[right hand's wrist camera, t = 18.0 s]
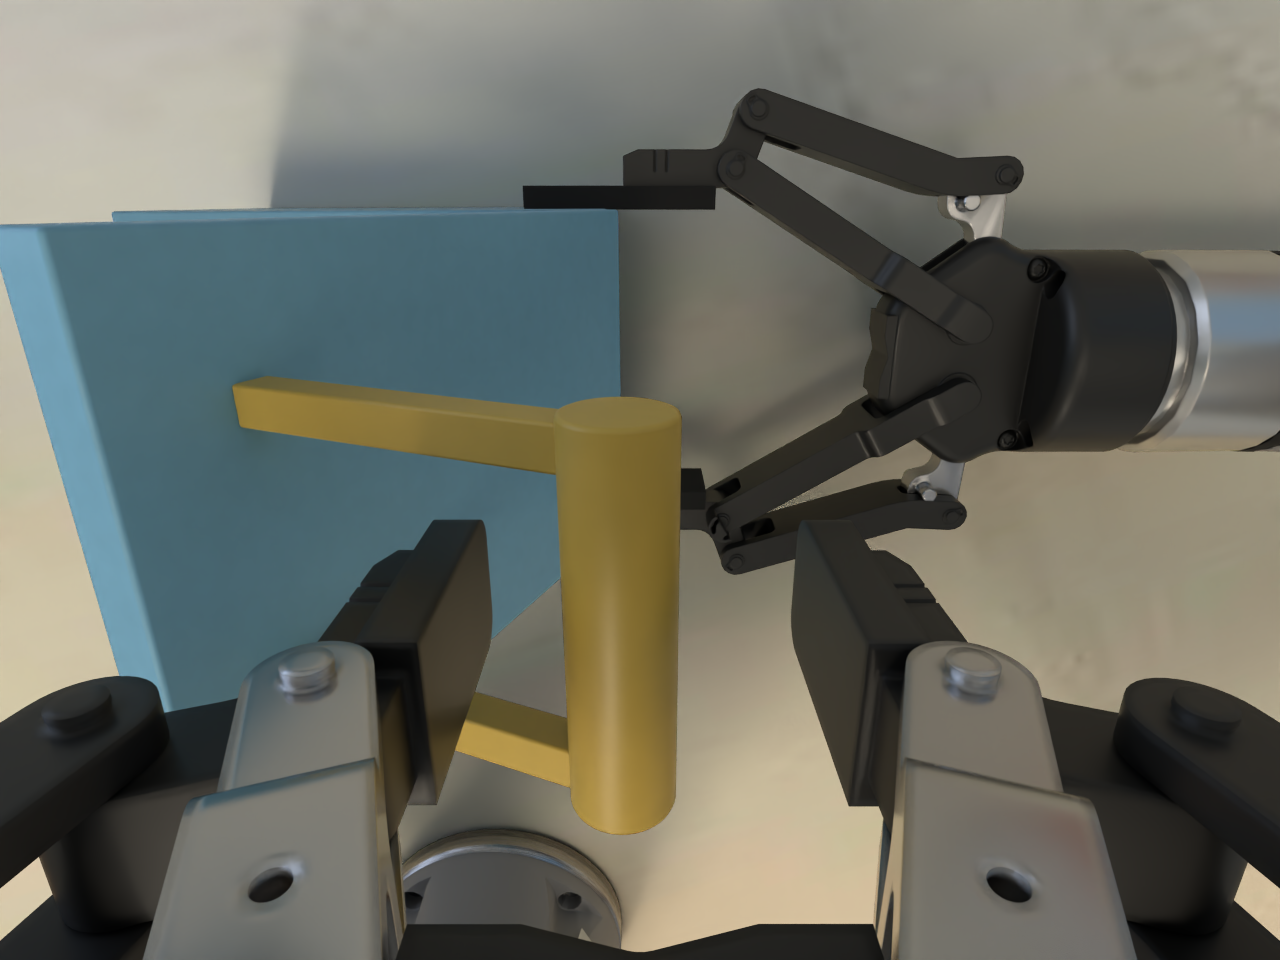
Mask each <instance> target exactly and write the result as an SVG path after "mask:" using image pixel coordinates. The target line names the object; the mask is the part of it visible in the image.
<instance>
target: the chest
mask: <svg viewBox="0 0 1280 960" xmlns="http://www.w3.org/2000/svg"><path fill="white" fill-rule="evenodd" d="M550 210H589V209H524V207H443V208H258V209H209V210H159V211H114V212H112V218H113V222H124V221H163V220H202V219H240V218H279V217H318V216H357V215H395V214H434V213H473V212H512V211H550Z"/></svg>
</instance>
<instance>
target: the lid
mask: <svg viewBox="0 0 1280 960" xmlns="http://www.w3.org/2000/svg"><path fill="white" fill-rule="evenodd" d="M0 269H1V272H2V275H3V279H4V282H5V286H6V289H7V293H8V296H9V299H10V303H11V306H12V310H13V313H14V316H15V320H16V323H17V327H18V330H19V334H20V337H21V340H22V344H23V347H24V351H25V354H26V358H27V361H28V364H29V368H30V371H31V375H32V378H33V381H34V385H35V388H36V392H37V395H38V399H39V402H40V405H41V409H42V412H43V416H44V419H45V423H46V426H47V429H48V433H49V436H50V440H51V443H52V446H53V450H54V453H55V457H56V460H57V464H58V467H59V470H60V474H61V477H62V481H63V484H64V488H65V491H66V494H67V498H68V501H69V505H70V508H71V511H72V515H73V518H74V522H75V525H76V529H77V532H78V535H79V539H80V542H81V546H82V549H83V553H84V556H85V559H86V563H87V566H88V570H89V573H90V576H91V580H92V583H93V587H94V590H95V594H96V597H97V600H98V604H99V607H100V611H101V614H102V618H103V621H104V624H105V628H106V631H107V635H108V638H109V641H110V645H111V648H112V652H113V655H114V659H115V662H116V665H117V669H118V672H119V676H134V677H140V678H144V679H147V680H149V681H151V682H153V683H154V684H155V685H156V686H157V688H158V691H159V694H160V698H161V702H162V705H163V709H164V713H165V712H171V711H176V710H181V709H186V708H191V707H197V706H202V705H207V704H212V703H218V702H223V701H227V700H231V699H236V698H238V695H239V691H240V687H241V684H242V682H243V680H244V679H245V677H246V676H247V674H248V673H249V672H250V671H251V670H252V669H253V668H254V667H256V666H257V665H258V664H260V663H261V662H262V661H264V660H266V659H267V658H269V657H271V656H273V655H275V654H277V653H279V652H282V651H284V650H287V649H289V648H292V647H296V646H299V645H303V644H308V643H313V642H318V640H319V639H320V638H321V636H322V635H323V633H324V632H325V631H326V629H327V628H328V627H329V625H330V624H331V623H332V621H333V620H334V618H335V617H336V616H337V614H338V613H339V612H340V610H341V609H342V608H343V606H344V605H345V604H346V602H349V598H350V597H351V595H352V594H353V593H354V591H355V590H356V589H357V587H360V583H361V582H362V580H363V579H364V578H365V576H366V575H367V574H368V572H369V571H370V569H371V568H372V567H373V565H375V564H376V563H378V562H380V561H381V560H383V559H385V558H386V557H388V556H389V555H391V554H393V553H394V552H396V551H397V550H414V548H415V547H416V545H417V544H418V542H419V541H420V539H421V538H422V536H423V535H424V533H425V531H426V530H427V528H428V527H429V525H430V524H431V522H432V521H433V520H482V521H483V522H484V525H485V529H486V535H487V547H488V560H489V573H490V586H491V598H492V615H493V620H492V635H491V640H492V639H493V638H494V637H495V636H496V635H497V634H498V633H499V632H501V631H502V630H503V629H504V628H505V627H506V626H507V625H508V624H510V623H511V622H512V621H513V620H514V619H515V618H516V617H517V616H519V615H520V614H521V613H522V612H523V611H524V610H525V609H526V608H528V607H529V606H530V605H531V604H532V603H533V602H534V601H535V600H536V599H538V598H539V597H540V596H541V595H542V594H543V593H544V592H545V591H547V590H548V589H549V588H550V587H551V586H552V585H553V584H554V583H556V582H557V581H558V580H559V579H560V578H561V595H562V617H563V638H564V660H565V681H566V703H567V718H564V717H561V716H557V715H554V714H550V713H547V712H543V711H540V710H537V709H533V708H530V707H526V706H523V705H519V704H516V703H512V702H509V701H505V700H502V699H498V698H495V697H491V696H488V695H484V694H481V693H478V692H474V695H473V698H472V701H471V704H470V707H469V710H468V713H467V716H466V719H465V722H464V725H463V728H462V731H461V734H460V737H459V740H458V743H457V746H456V749H455V750H456V751H459V752H462V753H465V754H468V755H471V756H474V757H477V758H480V759H483V760H486V761H490V762H493V763H496V764H499V765H502V766H505V767H508V768H511V769H514V770H517V771H520V772H523V773H526V774H529V775H532V776H535V777H538V778H541V779H545V780H548V781H551V782H554V783H557V784H560V785H563V786H566V787H569V788H570V790H571V802H572V805H573V807H574V809H575V811H576V813H577V814H578V816H579V817H580V818H581V819H582V820H583V821H584V822H585V823H586V824H588V825H589V826H591V827H592V828H594V829H596V830H599V831H601V832H605V833H609V834H617V835H628V834H635V833H639V832H643V831H645V830H648V829H650V828H652V827H654V826H656V825H657V824H659V823H660V822H661V821H662V820H663V819H664V818H665V817H666V816H667V815H668V813H669V812H670V810H671V809H672V807H673V804H674V802H675V797H676V747H677V684H678V621H679V558H680V495H681V432H682V416H681V414H680V411H679V410H678V409H677V408H676V407H675V406H673V405H670V404H668V403H665V402H661V401H658V400H653V399H647V398H638V397H621V389H620V315H619V242H618V211H617V210H615V209H589V210H550V211H512V212H473V213H434V214H395V215H357V216H318V217H279V218H240V219H202V220H163V221H124V222H85V223H47V224H8V225H0Z"/></svg>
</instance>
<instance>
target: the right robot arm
mask: <svg viewBox="0 0 1280 960" xmlns="http://www.w3.org/2000/svg"><path fill="white" fill-rule="evenodd" d="M492 620H493V615H492V598H491V586H490V573H489V560H488V547H487V535H486V529H485V525H484V522H483V521H482V520H433V521H432V522H431V524H430V525H429V527H428V528H427V530H426V531H425V533H424V535H423V536H422V538H421V539H420V541H419V542H418V544H417V545H416V547H415V548H414V550H397V551H396V552H394V553H393V554H391V555H389V556H388V557H386V558H385V559H383V560H381V561H380V562H378V563H376V564H375V565H373V567H372V568H371V569H370V571H369V572H368V574H367V575H366V576H365V578H364V579H363V580H362V582H361V583H360V587H357V589H356V590H355V591H354V593H353V594H352V595H351V597H350V598H349V602H346V604H345V605H344V606H343V608H342V609H341V610H340V612H339V613H338V614H337V616H336V617H335V618H334V620H333V621H332V623H331V624H330V625H329V627H328V628H327V629H326V631H325V632H324V633H323V635H322V636H321V638H320V639H319V640H318V642H313V643H308V644H303V645H299V646H296V647H292V648H289V649H287V650H284V651H282V652H279V653H277V654H275V655H273V656H271V657H269V658H267V659H266V660H264V661H262V662H261V663H260V664H258V665H257V666H256V667H254V668H253V669H252V670H251V671H250V672H249V673H248V674H247V676H246V677H245V679H244V680H243V682H242V684H241V687H240V691H239V695H238V698H236V699H231V700H227V701H223V702H218V703H212V704H207V705H202V706H197V707H191V708H186V709H181V710H176V711H171V712H165V713H164V709H163V705H162V702H161V698H160V694H159V691H158V688H157V686H156V685H155V684H154V683H153V682H151V681H149V680H147V679H144V678H140V677H134V676H113V677H104V678H99V679H93V680H89V681H85V682H81V683H78V684H75V685H72V686H69V687H66V688H63V689H60V690H58V691H55V692H53V693H51V694H49V695H47V696H44V697H42V698H40V699H38V700H37V701H35V702H33V703H31V704H30V705H28V706H26V707H25V708H23V709H21V710H20V711H18V712H17V713H15V714H13V715H12V716H10V717H9V718H7V719H5V720H4V721H2V722H1V723H0V888H1V887H2V886H4V885H5V884H6V883H7V882H9V881H10V880H11V879H12V878H13V877H15V876H16V875H17V874H18V873H20V872H21V871H22V870H23V869H24V868H26V867H27V866H28V865H29V864H31V863H32V862H33V861H34V860H35V859H37V858H38V857H39V858H40V861H41V864H42V866H43V869H44V872H45V875H46V877H47V880H48V883H49V885H50V888H51V891H52V894H53V895H52V896H50V897H49V898H48V899H47V900H46V901H45V902H44V903H43V904H41V905H40V906H39V907H38V908H37V909H36V910H35V911H33V912H32V913H31V914H30V915H29V916H28V917H27V918H26V919H24V920H23V921H22V922H21V923H20V924H19V925H18V926H16V927H15V928H14V929H13V930H12V931H11V932H10V933H9V934H7V935H6V936H5V937H4V938H3V939H2V940H1V941H0V960H1280V941H1279V940H1278V939H1277V938H1276V937H1275V936H1274V935H1273V934H1271V933H1270V932H1269V931H1268V930H1267V929H1266V928H1265V927H1264V926H1262V925H1261V924H1260V923H1259V922H1258V921H1257V920H1256V919H1254V918H1253V917H1252V916H1251V915H1250V914H1249V913H1248V912H1247V911H1245V910H1244V909H1243V908H1242V907H1241V906H1240V905H1239V904H1237V903H1236V902H1235V901H1234V898H1235V895H1236V893H1237V890H1238V887H1239V885H1240V882H1241V879H1242V876H1243V874H1244V871H1245V868H1246V866H1247V863H1249V864H1251V865H1252V866H1253V867H1254V868H1256V869H1257V870H1258V871H1259V872H1260V873H1262V874H1263V875H1264V876H1265V877H1267V878H1268V879H1269V880H1270V881H1271V882H1273V883H1274V884H1275V885H1276V886H1278V887H1279V888H1280V723H1279V722H1278V721H1276V720H1275V719H1273V718H1271V717H1270V716H1268V715H1267V714H1265V713H1263V712H1262V711H1260V710H1259V709H1257V708H1255V707H1254V706H1252V705H1250V704H1248V703H1247V702H1245V701H1243V700H1241V699H1239V698H1237V697H1234V696H1232V695H1230V694H1228V693H1225V692H1223V691H1220V690H1218V689H1215V688H1212V687H1208V686H1205V685H1202V684H1198V683H1194V682H1190V681H1184V680H1179V679H1170V678H1149V679H1143V680H1139V681H1136V682H1134V683H1132V684H1130V685H1129V686H1128V687H1127V688H1126V690H1125V693H1124V696H1123V700H1122V703H1121V707H1120V711H1119V713H1115V712H1110V711H1104V710H1099V709H1094V708H1089V707H1083V706H1078V705H1073V704H1068V703H1063V702H1058V701H1054V700H1050V699H1047V698H1043V697H1042V695H1041V691H1040V687H1039V684H1038V682H1037V680H1036V679H1035V677H1034V676H1033V674H1032V673H1031V672H1030V671H1029V670H1028V669H1027V668H1026V667H1024V666H1023V665H1022V664H1020V663H1019V662H1018V661H1016V660H1014V659H1013V658H1011V657H1009V656H1007V655H1005V654H1003V653H1001V652H998V651H996V650H993V649H991V648H988V647H984V646H981V645H977V644H972V643H968V642H967V641H966V639H965V638H964V636H963V635H962V634H961V632H960V631H959V630H958V628H957V627H956V626H955V624H954V623H953V622H952V620H951V619H950V618H949V616H948V615H947V614H946V612H945V611H944V610H943V608H942V607H941V606H940V604H939V603H936V599H935V598H934V596H933V595H932V594H931V592H930V591H929V590H928V588H925V587H924V583H923V581H922V580H921V579H920V577H919V576H918V575H917V573H916V572H915V571H914V569H913V568H912V567H911V566H910V565H909V564H907V563H905V562H904V561H902V560H900V559H899V558H897V557H896V556H894V555H892V554H891V553H889V552H887V551H871V550H870V548H869V547H868V545H867V544H866V542H865V541H864V539H863V538H862V536H861V535H860V533H859V532H858V530H857V529H856V527H855V526H854V524H853V523H852V521H850V520H802V521H801V523H800V525H799V529H798V535H797V546H796V559H795V571H794V584H793V596H792V609H791V628H792V638H793V644H794V649H795V652H796V655H797V658H798V661H799V664H800V666H801V669H802V672H803V675H804V678H805V681H806V684H807V687H808V690H809V692H810V695H811V698H812V701H813V704H814V707H815V710H816V713H817V716H818V719H819V721H820V724H821V727H822V730H823V733H824V736H825V739H826V742H827V745H828V747H829V750H830V753H831V756H832V759H833V762H834V765H835V768H836V771H837V773H838V776H839V779H840V782H841V785H842V788H843V791H844V794H845V797H846V799H847V802H848V805H849V806H879V808H880V811H881V813H882V816H883V824H882V831H881V838H880V845H879V856H878V869H877V882H876V895H875V908H874V921H873V924H757V925H753V926H749V927H745V928H741V929H737V930H733V931H729V932H725V933H721V934H717V935H713V936H709V937H705V938H702V939H698V940H694V941H690V942H686V943H682V944H678V945H674V946H670V947H666V948H662V949H658V950H654V951H648V952H632V951H626V950H622V949H618V948H614V947H610V946H606V945H602V944H598V943H594V942H590V941H586V940H582V939H578V938H575V937H571V936H567V935H563V934H559V933H555V932H551V931H547V930H543V929H539V928H535V927H531V926H527V925H523V924H407V921H406V908H405V895H404V882H403V869H402V856H401V845H400V838H399V831H398V826H399V824H400V822H401V819H402V816H403V814H404V811H405V809H406V806H407V805H437V802H438V799H439V796H440V793H441V790H442V787H443V784H444V781H445V778H446V775H447V772H448V769H449V766H450V763H451V760H452V757H453V754H454V752H455V749H456V746H457V743H458V740H459V737H460V734H461V731H462V728H463V725H464V722H465V719H466V716H467V713H468V710H469V707H470V704H471V701H472V698H473V695H474V692H475V689H476V686H477V683H478V680H479V677H480V675H481V672H482V669H483V666H484V663H485V660H486V657H487V654H488V651H489V647H490V642H491V635H492Z"/></svg>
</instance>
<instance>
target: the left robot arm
mask: <svg viewBox="0 0 1280 960" xmlns="http://www.w3.org/2000/svg"><path fill="white" fill-rule="evenodd" d="M763 142H767V143H770V144H773V145H776V146H778V147H781V148H784V149H787V150H790V151H793V152H796V153H798V154H801V155H804V156H807V157H810V158H813V159H815V160H818V161H821V162H824V163H827V164H830V165H833V166H835V167H838V168H841V169H844V170H847V171H850V172H853V173H855V174H858V175H861V176H864V177H867V178H870V179H872V180H875V181H878V182H881V183H884V184H887V185H890V186H892V187H895V188H898V189H901V190H904V191H907V192H911V193H914V194H918V195H925V196H938V202H937V204H938V210H939V212H940V214H941V215H942V216H943V217H945V218H947V219H951V220H955V221H956V222H958V223H959V224H960V225H961V226H962V229H963V231H964V238H963V239H961V240H960V241H958V242H956V243H955V244H954V245H952V246H951V247H949V248H948V249H946V250H945V251H943V252H942V253H940V254H939V255H937V256H936V257H935V258H933V259H932V260H930V261H929V262H927V263H926V264H924V265H923V266H921V267H918V266H917V265H915V264H914V263H912V262H911V261H909V260H908V259H906V258H904V257H903V256H901V255H899V254H897V253H895V252H893V251H892V250H890V249H888V248H887V247H886V246H884V245H883V244H881V243H880V242H878V241H877V240H875V239H874V238H872V237H871V236H869V235H868V234H866V233H865V232H863V231H862V230H861V229H859V228H858V227H856V226H855V225H853V224H852V223H850V222H849V221H847V220H846V219H844V218H843V217H841V216H840V215H838V214H837V213H835V212H834V211H833V210H831V209H830V208H828V207H827V206H825V205H824V204H822V203H821V202H819V201H818V200H816V199H815V198H813V197H812V196H810V195H809V194H808V193H806V192H805V191H803V190H802V189H800V188H799V187H797V186H796V185H794V184H793V183H791V182H790V181H788V180H787V179H785V178H784V177H783V176H781V175H780V174H778V173H777V172H775V171H774V170H772V169H771V168H769V167H768V166H766V165H765V164H763V163H762V162H760V161H759V160H757V157H758V155H759V152H760V150H761V147H762V144H763ZM1023 175H1024V171H1023V166H1022V164H1021V162H1020V160H1018V159H1017V158H1015V157H1012V156H993V157H972V158H956V157H953V156H950V155H947V154H944V153H942V152H939V151H936V150H933V149H930V148H928V147H925V146H922V145H919V144H916V143H914V142H911V141H908V140H905V139H903V138H900V137H897V136H894V135H891V134H889V133H886V132H883V131H880V130H877V129H875V128H872V127H869V126H866V125H863V124H861V123H858V122H855V121H852V120H850V119H847V118H844V117H841V116H838V115H836V114H833V113H830V112H827V111H824V110H822V109H819V108H816V107H813V106H810V105H808V104H805V103H802V102H799V101H797V100H794V99H791V98H788V97H785V96H783V95H780V94H777V93H774V92H771V91H769V90H766V89H759V88H758V89H754V90H751V91H750V92H749V93H748V94H746V95H745V96H744V97H743V98H742V99H741V100H740V101H739V102H738V103H737V104H736V106H735V108H734V110H733V115H732V118H731V121H730V123H729V126H728V129H727V131H726V134H725V137H724V139H723V141H722V142H721V143H720V144H719V146H717V147H715V148H713V149H706V150H699V149H668V150H666V149H657V150H654V149H638V150H636V151H633V152H631V153H629V154H626V155H624V156H623V186H523V200H524V209H648V210H715V195H716V188H723V189H725V190H726V191H728V192H729V193H731V194H732V195H734V196H735V197H737V198H738V199H740V200H741V201H743V202H744V203H746V204H747V205H749V206H750V207H752V208H753V209H755V210H756V211H758V212H759V213H761V214H762V215H764V216H765V217H767V218H768V219H770V220H771V221H773V222H774V223H776V224H777V225H779V226H780V227H782V228H783V229H785V230H786V231H788V232H789V233H791V234H792V235H794V236H795V237H797V238H798V239H800V240H801V241H803V242H804V243H806V244H807V245H809V246H810V247H812V248H813V249H815V250H816V251H818V252H819V253H821V254H822V255H824V256H825V257H827V258H828V259H830V260H831V261H833V262H834V263H836V264H837V265H839V266H840V267H842V268H843V269H845V270H846V271H848V272H849V273H851V274H852V275H854V276H855V277H856V278H857V279H859V280H860V281H862V282H863V283H864V284H866V285H867V286H869V287H871V288H872V289H874V290H875V291H877V292H878V293H880V294H881V295H883V296H882V298H881V299H880V301H879V303H878V305H877V307H876V308H871V317H870V326H869V329H870V335H871V342H872V351H871V354H870V356H869V359H868V362H867V364H866V367H865V374H864V383H863V387H864V388H865V389H866V390H867V391H868V395H866V396H864V397H862V398H860V399H859V400H857V401H855V402H853V403H851V404H850V405H848V406H847V407H845V408H844V409H843V411H842V413H841V414H840V415H838V416H837V417H835V418H833V419H831V420H830V421H828V422H826V423H824V424H822V425H821V426H819V427H817V428H815V429H813V430H812V431H810V432H808V433H806V434H804V435H803V436H801V437H799V438H797V439H795V440H794V441H792V442H790V443H788V444H786V445H785V446H783V447H781V448H779V449H777V450H775V451H774V452H772V453H770V454H768V455H766V456H765V457H763V458H761V459H759V460H757V461H756V462H754V463H752V464H750V465H748V466H747V467H745V468H743V469H741V470H739V471H738V472H736V473H734V474H732V475H730V476H729V477H727V478H725V479H723V480H721V481H720V482H718V483H716V484H714V485H712V486H711V487H709V488H708V489H705V485H704V480H703V476H702V471H701V468H681V495H680V530H702V531H704V532H706V533H708V534H709V535H710V537H711V538H712V539H713V541H714V543H715V546H716V549H717V551H718V554H719V557H720V560H721V564H722V567H723V568H724V570H725V571H726V572H728V573H730V574H733V575H736V574H742V573H746V572H749V571H753V570H757V569H760V568H764V567H768V566H771V565H775V564H778V563H782V562H786V561H789V560H793V559H796V546H797V535H798V529H799V525H800V523H801V521H802V520H850V521H852V523H853V524H854V526H855V527H856V529H857V530H858V532H859V533H860V535H861V536H862V538H863V539H864V540H865V539H869V538H873V537H876V536H880V535H884V534H887V533H891V532H894V531H898V530H902V529H905V528H918V529H942V530H951V529H956V528H957V527H959V526H961V525H962V524H963V523H964V521H965V519H966V517H967V511H966V509H965V507H964V506H963V505H962V504H961V503H960V502H959V501H958V494H959V489H960V484H961V480H962V475H963V470H964V465H965V462H968V461H971V460H973V459H975V458H977V457H979V456H981V455H983V454H986V453H989V452H994V451H1018V452H1104V451H1110V450H1113V449H1116V448H1118V449H1120V450H1123V451H1129V452H1180V451H1246V452H1254V451H1280V251H1268V250H1152V251H1144V252H1142V253H1139V254H1138V253H1135V252H1133V251H1128V250H1022V249H1019V248H1017V247H1015V246H1013V245H1011V244H1010V243H1008V242H1007V241H1005V240H1004V239H1001V238H1002V230H1003V221H1004V213H1005V205H1006V196H1007V193H1011V192H1012V191H1013V190H1015V189H1016V188H1017V187H1018V186H1019V184H1020V183H1021V182H1022V178H1023ZM914 439H915V440H916V441H917V442H919V443H920V444H921V445H923V446H924V447H925V448H927V449H928V450H929V451H931V452H932V456H931V458H930V460H929V461H928V462H927V463H926V464H925V465H923V466H921V467H916V468H912V469H908V470H906V471H905V472H904V473H903V476H902V479H892V480H884V481H879V482H875V483H870V484H867V485H863V486H860V487H856V488H853V489H849V490H846V491H842V492H839V493H835V494H832V495H828V496H825V497H821V498H818V499H814V500H811V501H807V502H804V503H800V504H796V505H793V506H789V507H786V508H782V509H779V510H775V511H772V512H769V511H771V510H772V509H774V508H776V507H778V506H780V505H782V504H784V503H785V502H787V501H789V500H791V499H793V498H795V497H797V496H798V495H800V494H802V493H804V492H806V491H808V490H810V489H811V488H813V487H815V486H817V485H819V484H821V483H823V482H824V481H826V480H828V479H830V478H832V477H834V476H836V475H837V474H839V473H841V472H843V471H845V470H847V469H849V468H850V467H852V466H854V465H856V464H858V463H860V462H862V461H863V460H865V459H867V458H871V457H881V456H884V455H886V454H888V453H890V452H892V451H894V450H896V449H897V448H899V447H901V446H903V445H905V444H907V443H909V442H910V441H912V440H914ZM767 512H768V513H767ZM402 869H403V882H404V895H405V908H406V921H407V924H523V925H527V926H531V927H535V928H539V929H543V930H547V931H551V932H555V933H559V934H563V935H567V936H571V937H575V938H578V939H582V940H586V941H590V942H594V943H598V944H602V945H606V946H610V947H614V948H618V949H621V925H622V920H621V910H620V906H619V902H618V899H617V896H616V894H615V892H614V890H613V888H612V886H611V885H610V883H609V882H608V880H607V879H606V877H605V876H604V875H603V874H602V873H601V871H600V870H599V869H598V868H597V867H596V866H595V865H594V864H592V863H591V862H590V861H589V860H588V859H586V858H585V857H584V856H582V855H581V854H579V853H578V852H576V851H575V850H573V849H571V848H569V847H567V846H566V845H564V844H561V843H559V842H557V841H555V840H552V839H549V838H546V837H543V836H540V835H536V834H532V833H527V832H522V831H515V830H504V829H486V830H475V831H468V832H463V833H459V834H455V835H452V836H448V837H445V838H443V839H440V840H438V841H436V842H434V843H431V844H429V845H427V846H426V847H424V848H423V849H421V850H419V851H418V852H417V853H415V854H414V855H413V856H411V857H410V858H409V859H408V860H407V861H406V862H405V863H404V864H403V865H402Z"/></svg>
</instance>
